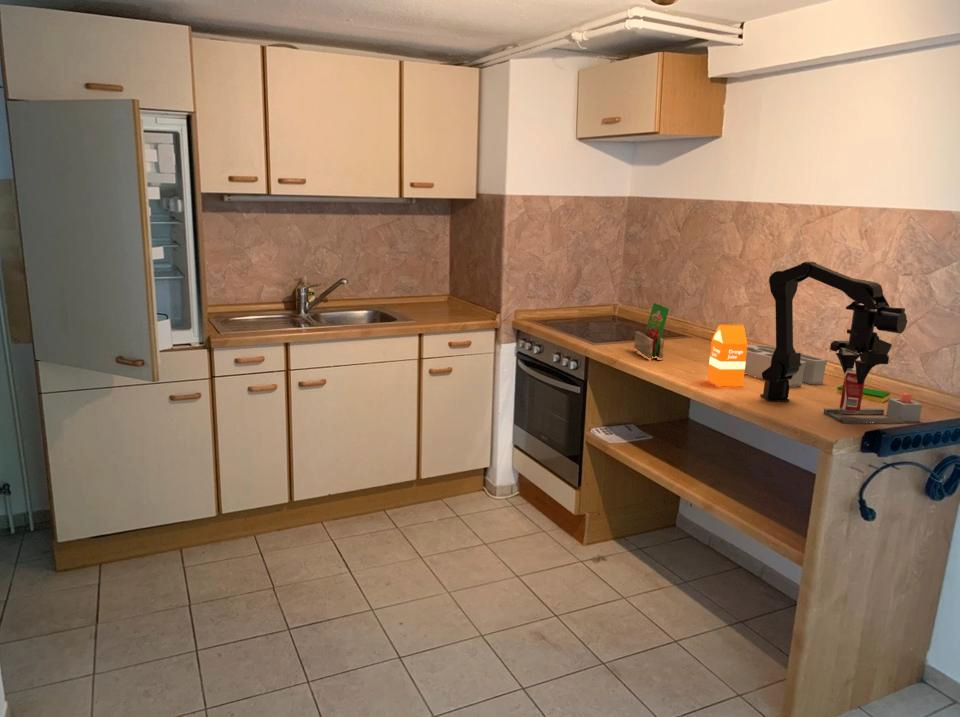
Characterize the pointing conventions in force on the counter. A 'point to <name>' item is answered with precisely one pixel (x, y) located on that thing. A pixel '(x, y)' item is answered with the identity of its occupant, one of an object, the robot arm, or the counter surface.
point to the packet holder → (647, 345)
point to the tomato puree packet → (656, 325)
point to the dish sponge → (871, 394)
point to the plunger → (905, 397)
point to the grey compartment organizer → (808, 373)
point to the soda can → (851, 392)
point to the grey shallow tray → (862, 419)
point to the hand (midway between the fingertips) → (854, 381)
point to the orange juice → (728, 356)
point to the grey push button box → (904, 410)
